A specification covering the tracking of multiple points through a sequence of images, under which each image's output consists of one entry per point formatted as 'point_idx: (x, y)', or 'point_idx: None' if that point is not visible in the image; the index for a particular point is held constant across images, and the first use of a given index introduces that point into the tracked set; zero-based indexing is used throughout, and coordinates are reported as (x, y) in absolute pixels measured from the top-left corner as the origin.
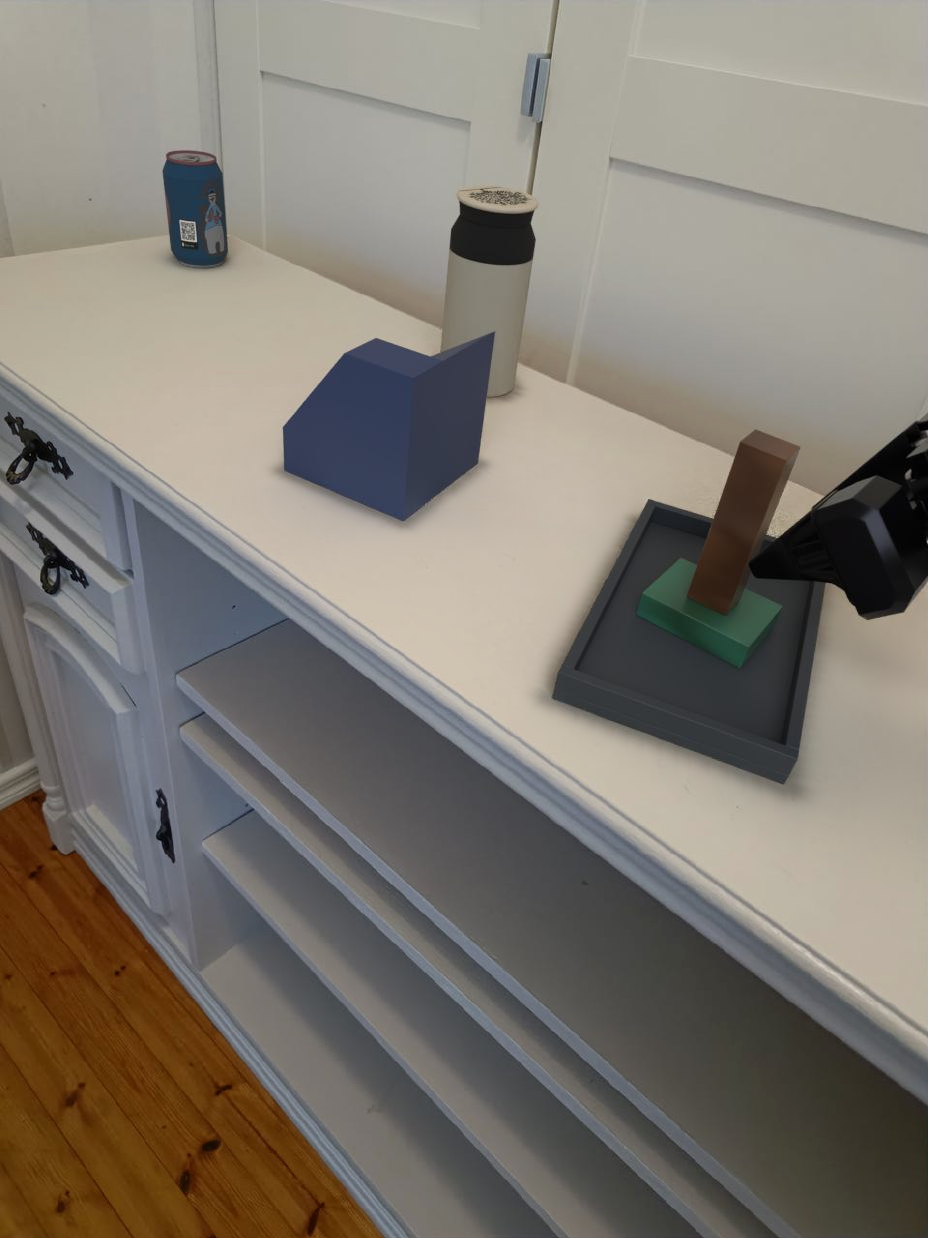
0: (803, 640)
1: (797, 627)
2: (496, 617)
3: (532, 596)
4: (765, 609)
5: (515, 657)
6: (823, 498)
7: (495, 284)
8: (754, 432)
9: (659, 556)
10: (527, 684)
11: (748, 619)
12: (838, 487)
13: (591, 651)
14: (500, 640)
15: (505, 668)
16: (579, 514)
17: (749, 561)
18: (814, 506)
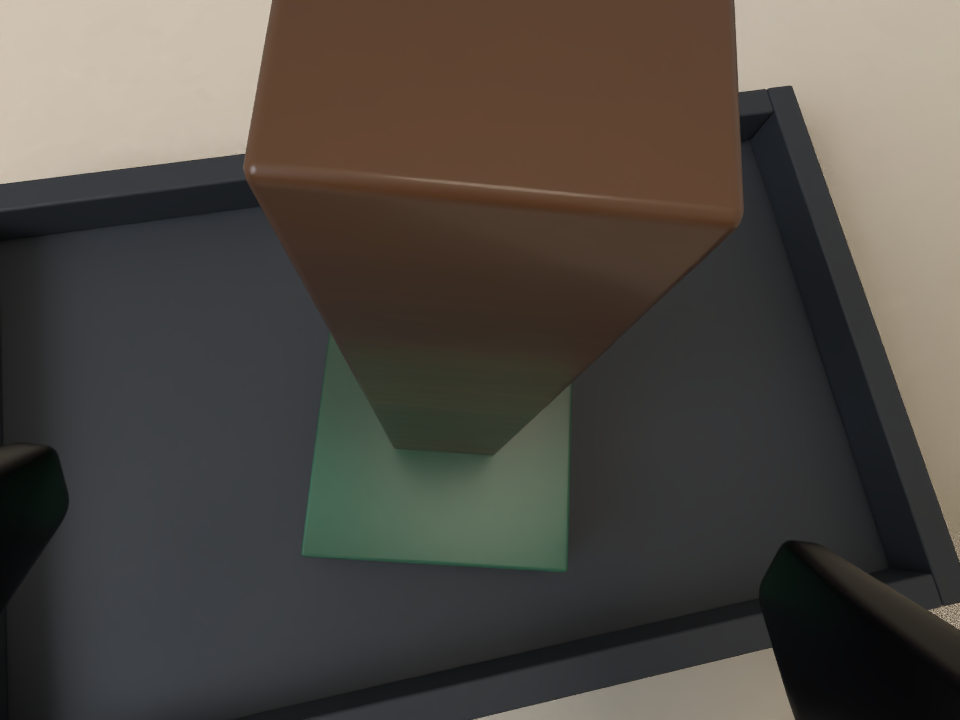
0: (482, 675)
1: (601, 621)
2: (179, 35)
3: None
4: (512, 533)
5: (76, 119)
6: (837, 589)
7: None
8: None
9: None
10: (6, 175)
11: (427, 508)
12: (930, 671)
13: (148, 231)
14: (111, 73)
15: (29, 119)
16: None
17: (3, 445)
18: (798, 552)
